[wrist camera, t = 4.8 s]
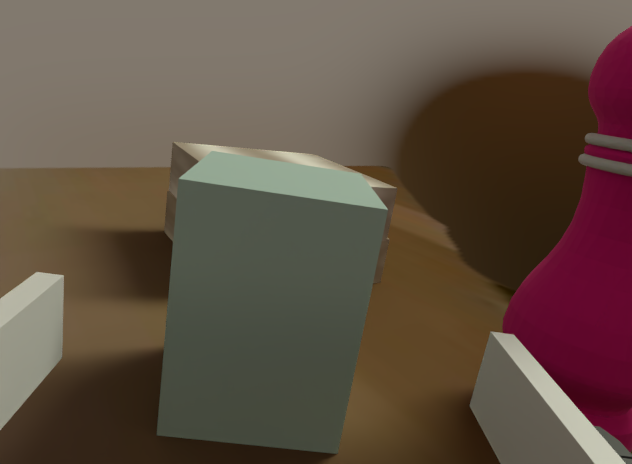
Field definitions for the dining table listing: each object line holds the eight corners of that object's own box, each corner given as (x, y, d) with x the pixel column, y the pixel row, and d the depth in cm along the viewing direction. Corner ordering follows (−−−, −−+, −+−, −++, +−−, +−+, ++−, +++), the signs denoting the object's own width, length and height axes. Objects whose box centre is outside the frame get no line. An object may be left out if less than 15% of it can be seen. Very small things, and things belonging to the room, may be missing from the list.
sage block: (337, 454, 20) (388, 209, 17) (156, 435, 19) (178, 178, 16) (326, 359, 26) (361, 173, 23) (192, 343, 26) (212, 150, 23)
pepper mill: (635, 414, 26) (800, 0, 20) (650, 504, 20) (893, -59, 14) (494, 361, 29) (604, -11, 23) (468, 424, 23) (608, -63, 17)
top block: (215, 242, 30) (221, 178, 29) (169, 190, 41) (172, 141, 40) (386, 241, 37) (397, 188, 36) (307, 195, 47) (314, 154, 46)
